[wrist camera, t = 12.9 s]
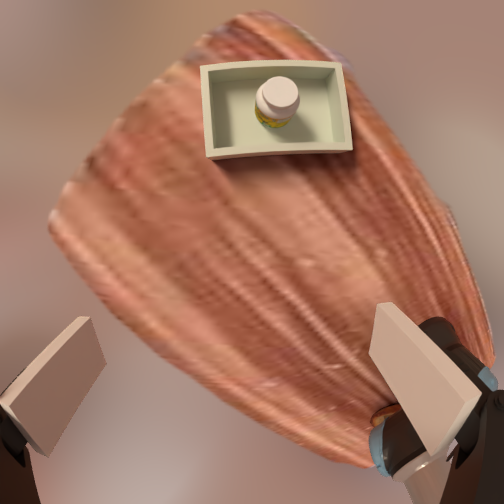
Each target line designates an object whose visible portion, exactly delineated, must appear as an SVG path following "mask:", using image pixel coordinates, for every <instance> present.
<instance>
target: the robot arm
mask: <svg viewBox="0 0 504 504" xmlns="http://www.w3.org/2000/svg"><path fill="white" fill-rule="evenodd" d="M369 355H370V357H371V358H372V360H373V362H374V363H375V365H376V366H377V368H378V369H379V371H380V373H381V374H382V376H383V377H384V379H385V381H386V382H387V384H388V385H389V387H390V389H391V390H392V392H393V393H394V395H395V397H396V398H397V400H398V402H399V403H400V405H401V407H402V408H401V409H399V410H398V411H397V412H395V413H394V414H392V415H391V416H389V417H387V418H385V419H384V421H383V422H381V423H380V424H379V425H377V426H376V427H374V428H373V429H372V431H371V433H370V435H369V448H370V453H371V456H372V459H373V462H374V464H376V466H377V469H378V471H379V472H380V473H381V475H383V476H385V477H388V476H391V477H392V479H393V480H394V481H398V482H403V483H404V484H405V486H406V489H407V491H408V493H409V495H410V498H411V500H412V502H413V504H504V390H497V388H498V381H497V379H496V377H495V376H494V375H493V374H492V373H491V372H490V370H489V368H488V367H487V366H485V365H484V364H483V363H482V362H481V361H480V360H479V359H477V358H476V357H475V356H474V355H473V354H472V353H471V352H470V351H469V350H468V349H467V348H466V347H464V346H463V345H462V344H461V342H460V340H459V338H458V336H457V335H456V333H455V329H454V327H453V326H452V324H451V323H450V322H448V321H447V320H446V319H445V318H443V317H434V318H430V319H428V320H426V321H424V322H423V323H421V324H420V325H419V326H417V325H416V324H415V323H413V322H412V321H411V320H410V319H409V318H408V317H407V316H406V315H405V314H404V313H403V312H402V311H401V310H400V309H399V308H398V307H396V306H395V305H394V304H393V303H392V302H386V303H379V304H377V307H376V314H375V321H374V327H373V333H372V339H371V344H370V350H369ZM106 364H107V363H106V361H105V358H104V355H103V353H102V350H101V347H100V345H99V342H98V339H97V336H96V333H95V330H94V327H93V323H92V320H91V317H81V316H79V317H78V318H76V319H75V320H74V321H73V322H72V323H71V324H70V325H69V326H68V327H67V328H66V329H65V330H64V331H63V332H62V333H61V334H60V335H59V336H58V337H56V338H55V340H54V341H53V342H51V343H50V345H48V346H47V348H45V350H43V351H42V352H41V353H40V355H38V356H37V357H36V359H34V361H33V362H32V363H31V364H30V365H29V366H28V367H26V368H25V369H24V370H23V371H22V372H21V373H20V374H19V375H18V377H16V378H15V379H14V380H13V383H11V384H10V385H9V386H8V387H7V388H6V389H5V390H4V391H3V392H2V394H1V395H0V504H41V503H40V499H39V496H38V492H37V488H36V485H35V480H34V475H33V471H32V466H31V461H30V454H29V451H28V449H27V447H26V446H25V445H26V443H27V442H28V443H29V444H30V445H31V446H32V447H33V449H34V450H35V451H36V452H38V453H40V454H42V455H44V456H46V457H49V456H50V454H51V452H52V451H53V449H54V447H55V446H56V444H57V442H58V440H59V439H60V437H61V435H62V433H63V432H64V430H65V428H66V427H67V425H68V423H69V422H70V420H71V418H72V417H73V415H74V413H75V412H76V410H77V409H78V407H79V405H80V404H81V402H82V400H83V399H84V397H85V396H86V394H87V393H88V391H89V390H90V388H91V387H92V385H93V384H94V382H95V381H96V379H97V377H98V376H99V374H100V373H101V371H102V370H103V368H104V367H105V365H106ZM454 438H455V439H456V441H457V442H458V444H457V446H456V447H455V448H454V450H453V451H452V452H451V453H450V455H449V456H448V457H447V452H448V449H449V445H450V444H451V443H452V441H453V440H454ZM452 456H453V459H452V464H451V463H450V462H449V460H450V459H451V458H452Z"/></svg>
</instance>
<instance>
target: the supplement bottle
mask: <svg viewBox="0 0 504 504" xmlns="http://www.w3.org/2000/svg"><path fill="white" fill-rule="evenodd" d="M299 104H300V97H299V93H298V88H297V86H296V84H295V83H294V82H293V81H292V80H290V79H288V78H286V77H282V76H277V77H273V78H271V79H269V80H268V81H267V82H265V83H264V84H263V85H261V86H260V88H259V89H258V91H257V94H256V101H255V116H256V118H257V120H258V121H259V122H260V123H261V124H262V125H264V126H266V127H268V128H272V129H276V128H281V127H283V126H285V125H286V124H287V123H288V122H289V121H290V120H291V118H292V117H293V115H294V114H295V112H296V111H297V109H298V107H299Z"/></svg>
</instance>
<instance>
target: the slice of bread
mask: <svg viewBox="0 0 504 504" xmlns="http://www.w3.org/2000/svg"><path fill="white" fill-rule="evenodd" d="M401 408H402V407H401V405H400V403H399V404H395V405H392V406H388V407H386V408H383V409H381V410H379V411H378V412H376V413H375V414H373V416H372V418H371V421H370V423H371V424H372V426H373V427H376V426H377V425H379V424H380V423H381V422H383V421H384V419H385V418H387V417H389V416H391V415H392V414H394V413H395V412H397V411H398V410H399V409H401Z"/></svg>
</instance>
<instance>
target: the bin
mask: <svg viewBox="0 0 504 504" xmlns="http://www.w3.org/2000/svg"><path fill="white" fill-rule="evenodd" d="M200 73H201V91H202V108H203V122H204V136H205V148H206V157H207V158H208V159H210V160H221V159H231V158H241V157H254V156H268V155H286V154H321V153H342V152H346V151H351V150H353V147H352V137H351V127H350V119H349V111H348V103H347V96H346V90H345V83H344V77H343V72H342V66H341V63H337V62H325V61H309V60H258V61H241V62H229V63H220V64H211V65H204V66H200ZM277 76H282V77H286V78H288V79H290V80H292V81H293V82H294V83H295V84H296V86H297V88H298V93H299V97H300V104H299V107H298V109H297V111H296V112H295V114H294V115H293V117H292V118H291V120H290V121H289V122H288V123H287V124H286V125H285V126H283V127H281V128H276V129H272V128H268V127H266V126H264V125H262V124H261V123H260V122H259V121H258V120H257V118H256V116H255V101H256V94H257V91H258V89H259V88H260V86H261V85H263V84H264V83H265V82H267V81H268V80H269V79H271V78H273V77H277Z"/></svg>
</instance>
